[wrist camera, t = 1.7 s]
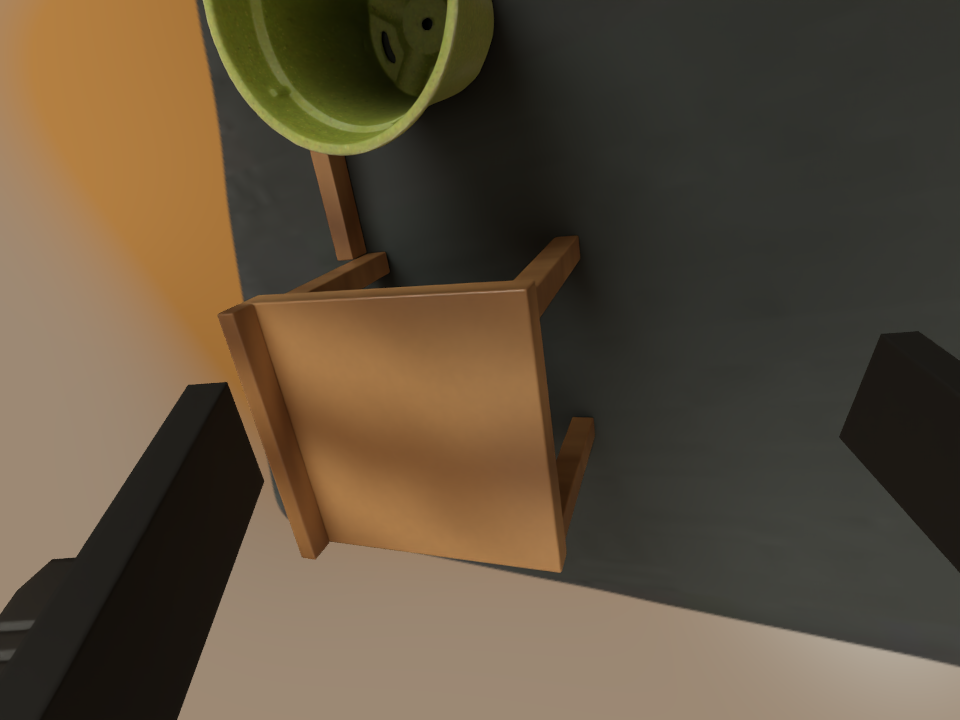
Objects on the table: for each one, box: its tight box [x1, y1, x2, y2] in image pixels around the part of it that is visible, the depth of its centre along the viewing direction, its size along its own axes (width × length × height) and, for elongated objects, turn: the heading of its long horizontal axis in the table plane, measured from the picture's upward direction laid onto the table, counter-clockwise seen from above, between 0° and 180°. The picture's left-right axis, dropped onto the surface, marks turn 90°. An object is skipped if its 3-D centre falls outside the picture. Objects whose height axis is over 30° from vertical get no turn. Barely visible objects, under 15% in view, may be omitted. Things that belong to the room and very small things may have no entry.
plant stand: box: [218, 150, 595, 573], centre depth 23 cm, size 30×13×11 cm, turn 9°
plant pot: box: [203, 0, 494, 156], centre depth 21 cm, size 9×9×9 cm
